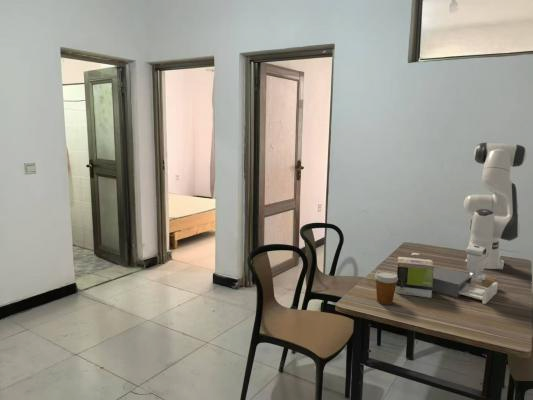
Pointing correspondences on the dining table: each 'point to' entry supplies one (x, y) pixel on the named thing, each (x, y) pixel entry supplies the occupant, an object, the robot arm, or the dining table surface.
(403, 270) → the tea box
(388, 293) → the disposable coffee cup
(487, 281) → the wooden block
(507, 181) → the robot arm
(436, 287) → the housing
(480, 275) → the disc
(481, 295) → the cream drawer
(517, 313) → the dining table surface
